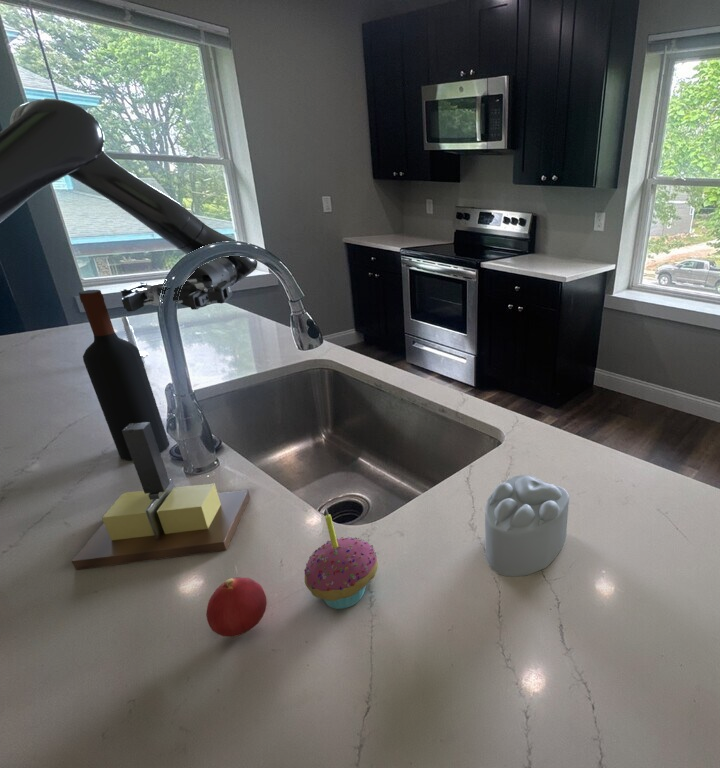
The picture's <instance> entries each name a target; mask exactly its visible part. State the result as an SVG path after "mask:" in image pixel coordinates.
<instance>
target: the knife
mask: <svg viewBox="0 0 720 768" xmlns="http://www.w3.org/2000/svg"><path fill="white" fill-rule="evenodd" d="M122 433H123V436H124V438H125V441H126V444H127V447H128V449H129V452H130V455H131V458H132V460H133V461H132V463H133V466H134V468H135V471H136V474H137V475H138V480H139V483H140V485H141V487H142V491H144V493H145V494H146V493H150V494H149V495H148V496H149V498H150V500H151V499H154V500H153V501H152V502H151V504H150V505H149V506H148V508H147V509H146V510H145V511H146V514H147V516H148V519H149V522H150V525H151V527H152V530H153V533H154V535H155V538H156V539H159V537H160V536H161V534H162V533H163V531H164V530H163V527H162V524H161V522H160V519H159V516H158V513H157V511H158V509H159V508H160V506H161V505H162V504H163V502H164V501H165V499H166V498H167V496H168V495H169V494H170V492H171V491H172V489H173V488H175V487H176V485H175V482H174V479H173V477H169V476H168V473H167V469H166V467H165V464H164V461H163V458H162V455H161V453H160V452H159V449H158V446H157V443H156V440H155V437H154V434H153V431H152V428H151V425H150V422H146V423H132V424H129V425H128V426H127V427H125V428H124V429H123V430H122Z"/></svg>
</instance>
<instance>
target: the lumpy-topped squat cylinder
mask: <svg viewBox="0 0 720 768" xmlns="http://www.w3.org/2000/svg"><path fill="white" fill-rule="evenodd" d="M569 505H570V495H569V493H568V491H567V490H566V489H565V488H563V487H561V486H559V485H557V484H552V483H548V482H545V481H543V480H541V479H539V478H538V477H535V476H533V475H529V474H520V475H515V476H512V477H510V478H508V479H506V480H505V481H504V482H501V483H499V484H498V485H496V486H495V487H494V489H493V492H492V493H491V494H490V495H489V497H488V498H487V500H486V504H485V512H484V521H485V522H484V545H485V546H484V555H485V559H486V562H487V564H488V566H489V567H490V569H492V571H493V572H495V573H496V574H498V575H501V576H504V577H524V576H528V575H532V574H534V573H537V572H539V571H541V570H544V569H546V568H547V567H548V566H550V565H551V563H552V562H553V561H554V560H555V559H556V558H557V556H558V555H559V554H560V552H561V550H562V548H563V546H564V545H565V543H566V540H567V532H568V531H567V530H568V521H569V520H568V519H569V508H570V507H569Z"/></svg>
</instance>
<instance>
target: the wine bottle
mask: <svg viewBox="0 0 720 768" xmlns="http://www.w3.org/2000/svg"><path fill="white" fill-rule="evenodd" d="M78 296H79V299H80V303H81V304H82V306H83V310H84V312H85V314H86V318H87V320H88V324H89V326H90V328H91V331H92V334H93V342H92V343H91V344H89V346H87V348H86V349H85V350H84V353H83V355H82V360H83V364H84V366H85V368H86V372H87V375H88V376H89V379H90V382H91V384H92V387H93V391H94V392H95V395H96V398H97V400H98V402H99V406H100V409H101V410H102V414H103V416H104V420H105V421H106V424H107V427H108V429H109V432H110V435H111V437H112V440H113V443H114V445H115V448H116V450H117V453H118V456H119V457H120V459H121V460H124V461H128V462H129V461H130V462H133V460H132V458H131V455H130V452H129V449H128V447H127V444H126V441H125V438H124V436H123V433H122V430H123V429H124V428H125V427H127V426H128V425H129V424H132V423H146V422H150V425H151V428H152V431H153V434H154V437H155V440H156V443H157V446H158V449H159V452H160V454H161V453H163V452H164V451H166V450H167V449H168V447H169V446H170V441H169V438H168V435H167V433H166V429H165V426H164V423H163V420H162V416H161V414H160V410H159V407H158V404H157V401H156V398H155V395H154V392H153V389H152V386H151V383H150V380H149V376H148V373H147V370H146V368H145V364H144V363H143V361H142V358H141V355H140V352H141V351H140V349H139V350H138V348H139V347H138V348H137V347H136V346H135V345H133V344H132V343H131V342H129V341H128V340H127V339H123V338H121V337H118V335H117V333H116V332H115V331H116V330H115V329H114V326H113V323H112V320H111V317H110V314H109V311H108V309H107V305H106V301H105V298H104V295H103V293H102V291H101V289H87V290H81V291H78Z"/></svg>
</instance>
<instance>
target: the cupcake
mask: <svg viewBox="0 0 720 768" xmlns="http://www.w3.org/2000/svg"><path fill="white" fill-rule="evenodd" d="M324 510H325V511H324V512H325V516H324V518H325V523H326V526H327V531H328V534H329V535H328V536H329V538H330V540H327V541H326V542H325V543H324V544H322V545H320V546H319V547H317V548H316V549H315V550H314V551H313V552H312V554H311V555H310V556H309V557H308V560H307V562H306V563H305V564H306V565H305V569H304V570H303V571H304V584H305V587H306V588H307V590H309V591H310V593H311V594H312V596H313V597H315V598H317V599H322V600H323V601H324V603H325V604H326V605H327V606H329V607H330V608H332V609H334V610H335V609H336V610H343V609H344V610H345V609H347V608H350V607H352V606H354V605H356V604H357V603H358V602H359V601H360V600H361V599H362V597H363V596H364V595H365V590H366V586H367V584H369V582H370V581H372V580H373V579H374V578H375V576H376V574H377V572H378V569H379V568H378V567H379V561H378V558H377V552H376V551H375V548H374V546H373V544H370V543H369V542H367V541H365V540H364V539H360V538H359V537H350V536H347V537H344V536H342V537H339V538H337V536H336V532H335V531H336V530H335V527H334V523H333V519H332V515H331V514H329V511H328V509H327V508H325V509H324Z"/></svg>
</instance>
